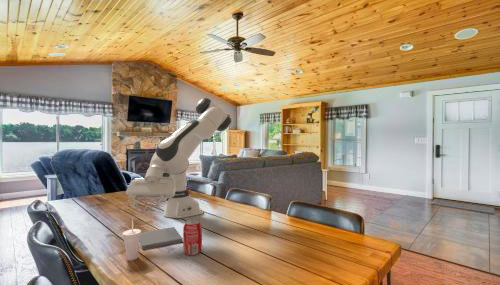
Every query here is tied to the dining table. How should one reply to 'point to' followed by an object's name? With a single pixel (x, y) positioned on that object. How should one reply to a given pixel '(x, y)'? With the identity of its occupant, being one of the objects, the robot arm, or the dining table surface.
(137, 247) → the smoothie
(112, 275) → the dining table surface
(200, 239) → the soda can
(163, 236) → the gray square slab
